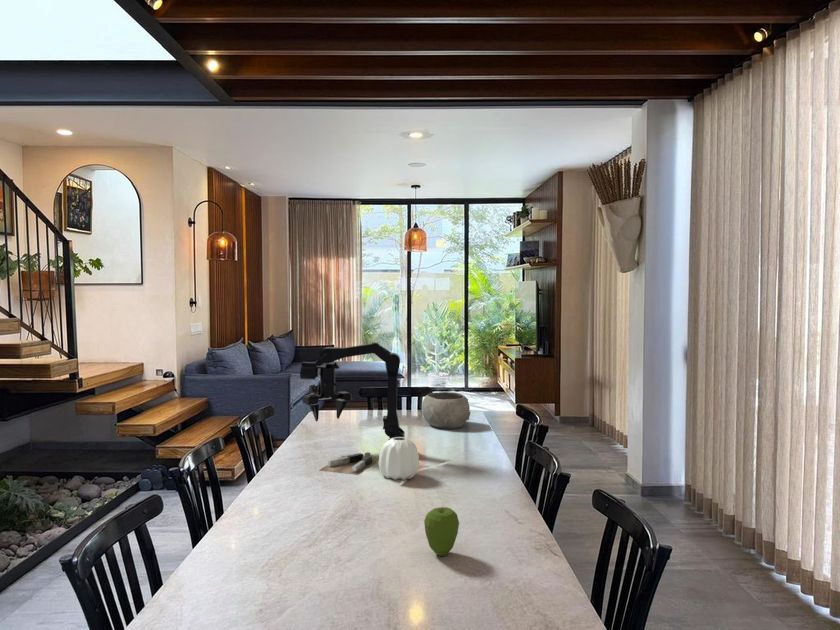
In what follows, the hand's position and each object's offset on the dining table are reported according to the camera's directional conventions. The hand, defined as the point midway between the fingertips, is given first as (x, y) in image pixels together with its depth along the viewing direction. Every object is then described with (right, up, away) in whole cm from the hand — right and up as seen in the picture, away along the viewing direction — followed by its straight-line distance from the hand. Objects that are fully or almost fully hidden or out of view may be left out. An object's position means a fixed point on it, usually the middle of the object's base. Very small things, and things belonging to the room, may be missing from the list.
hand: (327, 419), depth 232 cm
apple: (+41, -17, -87) cm, 98 cm away
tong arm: (+9, -13, -14) cm, 21 cm away
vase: (+29, -15, -27) cm, 42 cm away
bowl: (+48, -13, +55) cm, 74 cm away
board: (+11, -14, -16) cm, 24 cm away
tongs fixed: (+15, -14, -16) cm, 26 cm away
